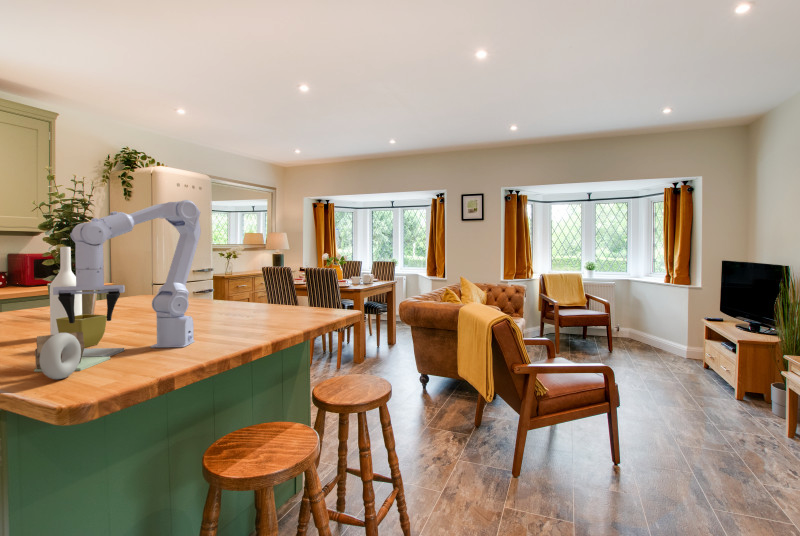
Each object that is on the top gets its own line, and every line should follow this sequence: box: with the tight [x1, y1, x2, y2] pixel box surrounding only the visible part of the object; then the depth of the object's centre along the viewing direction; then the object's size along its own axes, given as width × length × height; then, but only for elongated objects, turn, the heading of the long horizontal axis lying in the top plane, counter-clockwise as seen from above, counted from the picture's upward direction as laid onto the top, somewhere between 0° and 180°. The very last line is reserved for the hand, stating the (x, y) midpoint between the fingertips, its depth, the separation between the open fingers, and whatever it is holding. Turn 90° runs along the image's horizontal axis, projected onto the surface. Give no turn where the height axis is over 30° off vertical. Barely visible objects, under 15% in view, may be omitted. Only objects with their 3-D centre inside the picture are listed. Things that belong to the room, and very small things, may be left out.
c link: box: [34, 332, 85, 369], centre depth 93 cm, size 8×9×4 cm
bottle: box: [49, 246, 83, 335], centre depth 132 cm, size 8×8×30 cm
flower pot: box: [56, 313, 107, 349], centre depth 119 cm, size 9×9×9 cm
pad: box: [33, 356, 111, 373], centre depth 98 cm, size 10×11×1 cm
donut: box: [40, 333, 81, 380], centre depth 87 cm, size 10×4×10 cm, turn 8°
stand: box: [82, 347, 125, 357], centre depth 108 cm, size 15×10×4 cm, turn 95°
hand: (90, 321), depth 104 cm, fingers open, 7 cm apart
